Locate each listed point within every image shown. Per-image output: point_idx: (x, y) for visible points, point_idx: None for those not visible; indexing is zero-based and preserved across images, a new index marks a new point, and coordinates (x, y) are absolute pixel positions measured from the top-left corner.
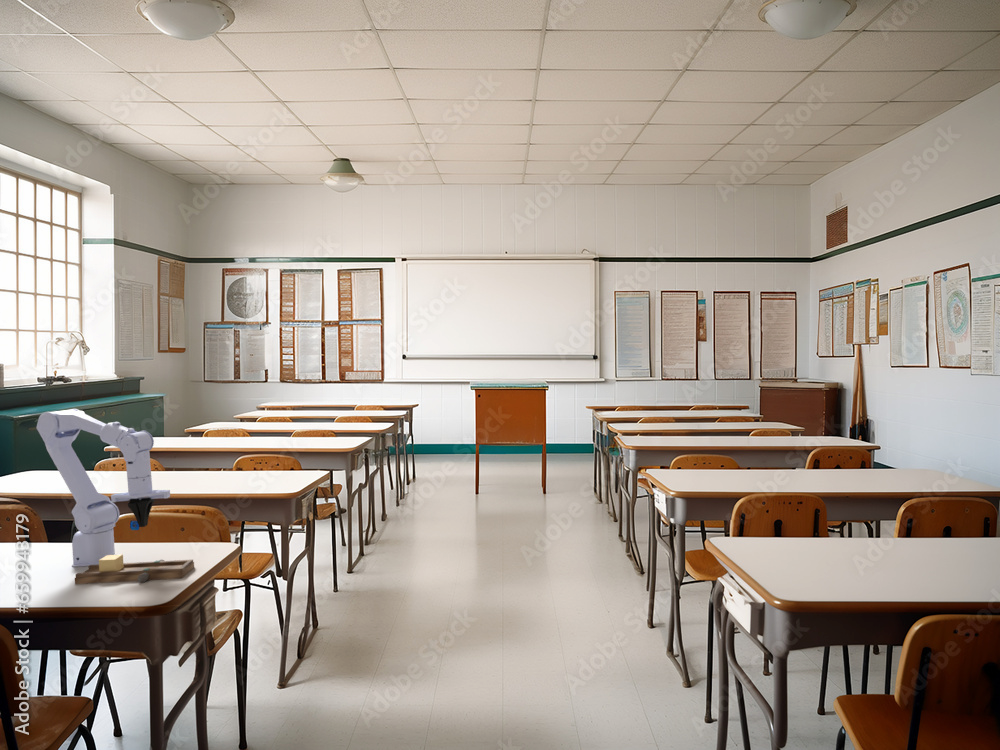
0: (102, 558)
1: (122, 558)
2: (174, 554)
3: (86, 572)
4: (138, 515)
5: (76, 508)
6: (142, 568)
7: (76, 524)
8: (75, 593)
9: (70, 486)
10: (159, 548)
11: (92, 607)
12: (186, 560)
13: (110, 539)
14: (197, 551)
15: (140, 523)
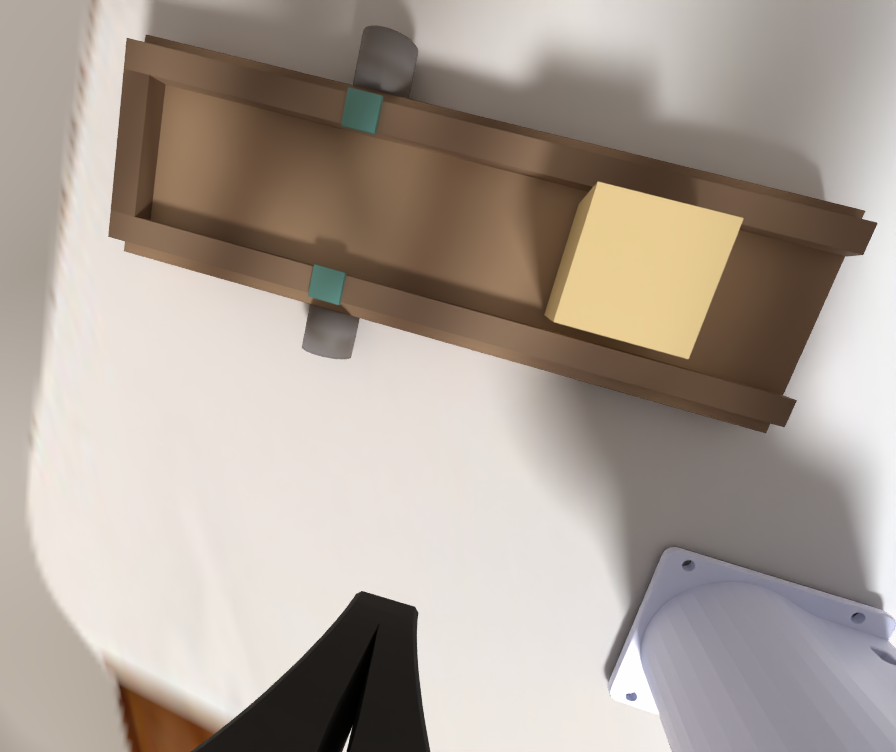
0: (715, 264)
1: (553, 309)
2: (316, 574)
3: (795, 234)
4: (363, 732)
5: None
6: (416, 243)
7: None
8: (805, 11)
9: None
10: None
11: None
12: (144, 230)
13: (711, 742)
14: (204, 568)
15: (384, 628)
